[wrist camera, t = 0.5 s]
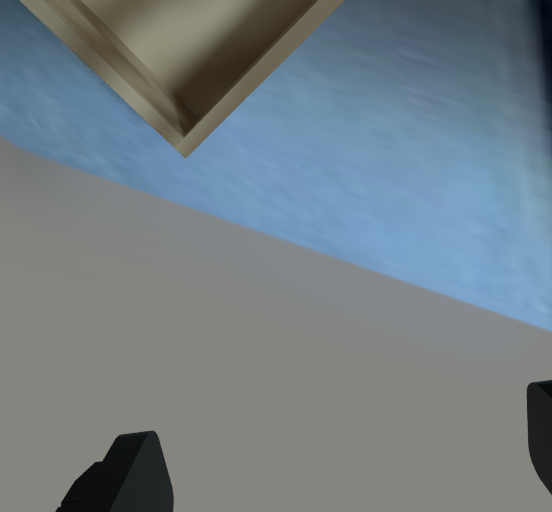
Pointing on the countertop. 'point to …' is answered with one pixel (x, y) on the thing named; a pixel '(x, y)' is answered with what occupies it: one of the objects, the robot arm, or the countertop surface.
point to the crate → (183, 52)
